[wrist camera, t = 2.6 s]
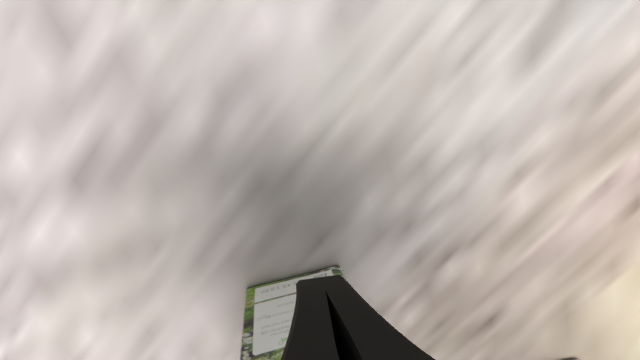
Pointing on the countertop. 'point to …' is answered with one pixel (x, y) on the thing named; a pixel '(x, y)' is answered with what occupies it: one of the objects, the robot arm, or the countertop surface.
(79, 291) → the countertop surface
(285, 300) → the syrup box
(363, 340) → the robot arm
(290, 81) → the countertop surface
